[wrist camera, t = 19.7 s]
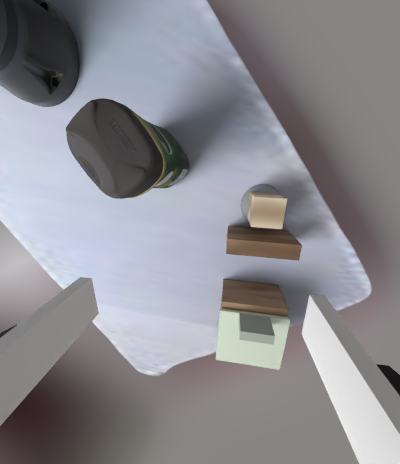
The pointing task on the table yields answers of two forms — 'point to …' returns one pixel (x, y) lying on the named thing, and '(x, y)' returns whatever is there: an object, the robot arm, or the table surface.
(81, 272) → the table surface
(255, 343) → the cover
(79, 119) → the coffee jar
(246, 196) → the grey round disc
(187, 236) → the table surface
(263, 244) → the brown and beige stand
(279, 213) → the block
